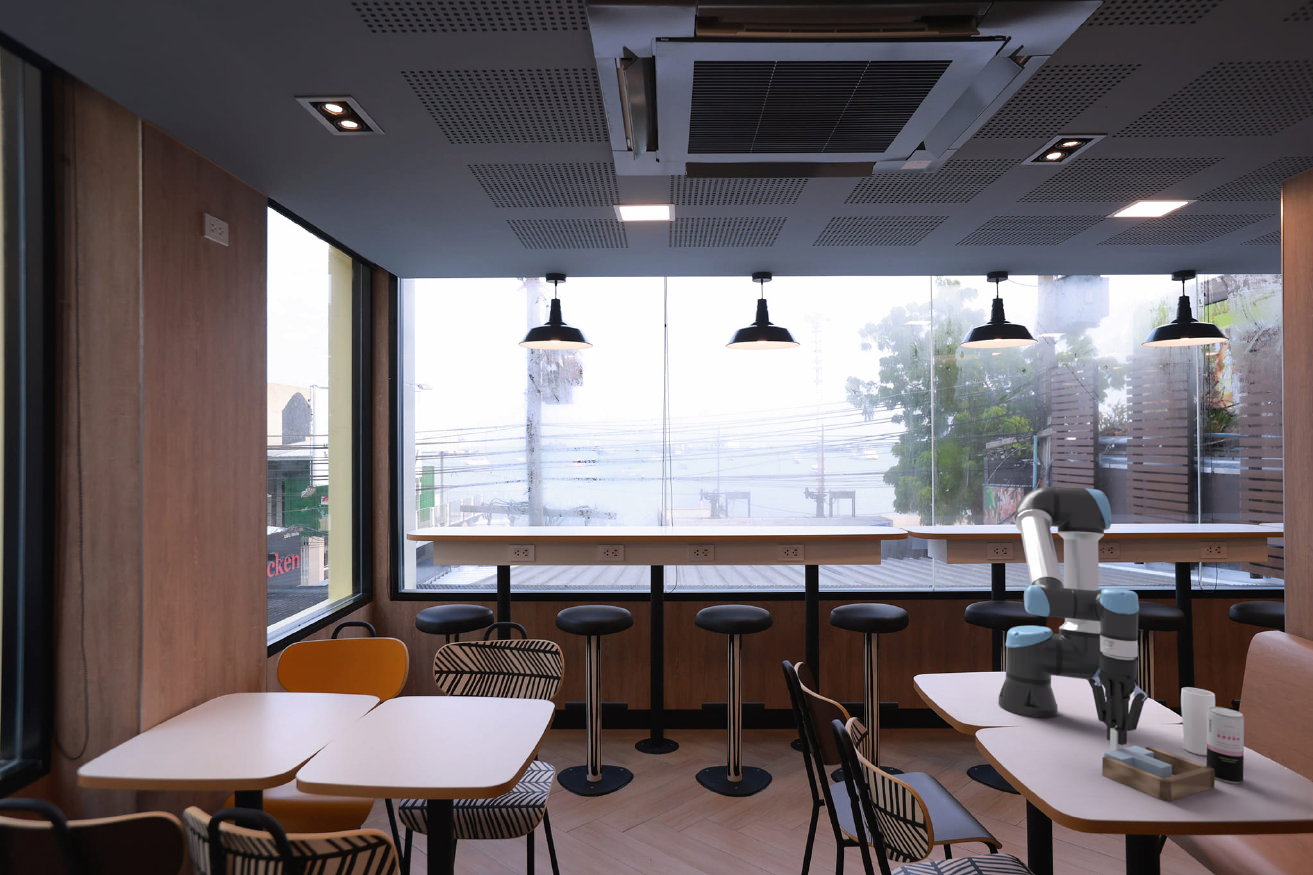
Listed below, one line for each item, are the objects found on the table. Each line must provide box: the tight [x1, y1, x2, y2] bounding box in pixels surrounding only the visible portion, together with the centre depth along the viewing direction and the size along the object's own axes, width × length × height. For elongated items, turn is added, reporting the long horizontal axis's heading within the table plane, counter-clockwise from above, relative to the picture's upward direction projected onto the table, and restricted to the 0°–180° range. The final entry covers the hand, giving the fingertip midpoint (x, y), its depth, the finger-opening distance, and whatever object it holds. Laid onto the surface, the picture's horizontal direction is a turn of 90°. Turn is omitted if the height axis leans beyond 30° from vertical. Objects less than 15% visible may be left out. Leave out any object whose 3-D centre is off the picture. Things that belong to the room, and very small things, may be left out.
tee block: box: [1103, 745, 1173, 778], centre depth 160 cm, size 10×12×4 cm
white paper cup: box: [1180, 686, 1216, 756], centre depth 175 cm, size 7×7×15 cm
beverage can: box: [1206, 706, 1245, 784], centre depth 161 cm, size 6×7×15 cm
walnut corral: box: [1101, 745, 1215, 803], centre depth 157 cm, size 14×18×4 cm
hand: (1116, 756), depth 165 cm, fingers closed
